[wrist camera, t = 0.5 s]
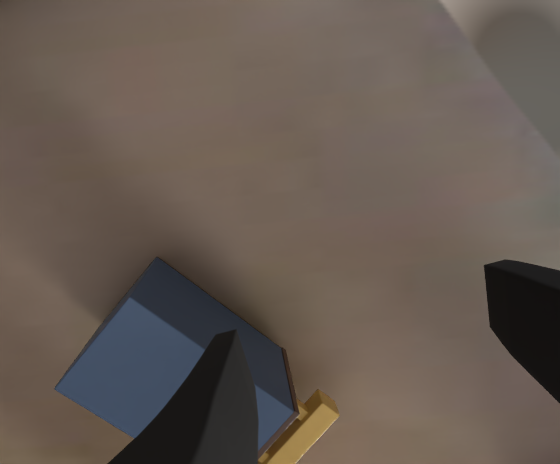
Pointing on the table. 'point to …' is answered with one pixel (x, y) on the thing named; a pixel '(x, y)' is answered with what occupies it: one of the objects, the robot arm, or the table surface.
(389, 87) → the table surface
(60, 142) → the table surface
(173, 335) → the box
